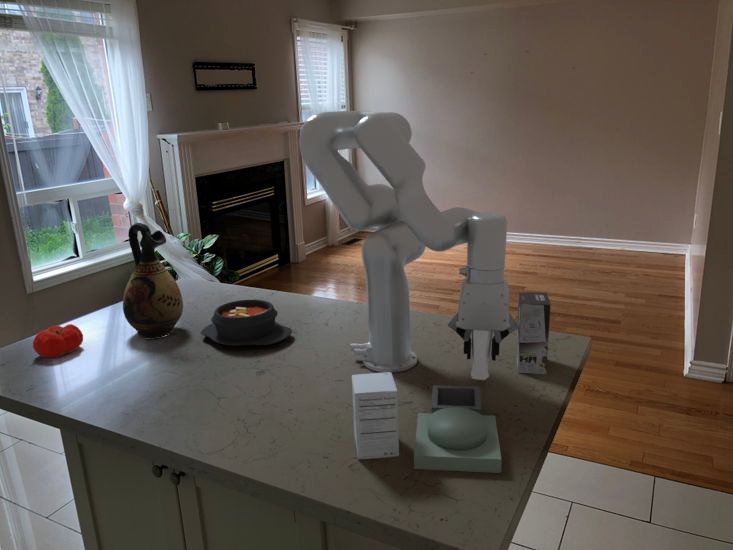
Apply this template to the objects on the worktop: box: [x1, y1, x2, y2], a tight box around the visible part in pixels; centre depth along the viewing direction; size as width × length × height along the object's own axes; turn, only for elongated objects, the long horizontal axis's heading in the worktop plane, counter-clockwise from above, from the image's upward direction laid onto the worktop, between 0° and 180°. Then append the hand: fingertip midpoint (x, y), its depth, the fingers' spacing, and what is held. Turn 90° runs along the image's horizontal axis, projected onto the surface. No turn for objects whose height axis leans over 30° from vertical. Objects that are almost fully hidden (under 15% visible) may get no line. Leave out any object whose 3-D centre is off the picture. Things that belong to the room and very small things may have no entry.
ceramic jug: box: [122, 222, 184, 339], centre depth 160 cm, size 17×15×30 cm
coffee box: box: [515, 291, 552, 375], centre depth 133 cm, size 9×6×16 cm
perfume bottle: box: [470, 330, 494, 381], centre depth 125 cm, size 5×4×15 cm
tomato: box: [32, 323, 84, 359], centre depth 151 cm, size 10×11×6 cm
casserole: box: [200, 299, 293, 347], centre depth 156 cm, size 25×19×8 cm
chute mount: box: [413, 384, 502, 474], centre depth 107 cm, size 14×22×5 cm, turn 172°
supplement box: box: [351, 372, 400, 460], centre depth 103 cm, size 7×7×13 cm
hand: (480, 356), depth 126 cm, fingers closed on perfume bottle, 4 cm apart
